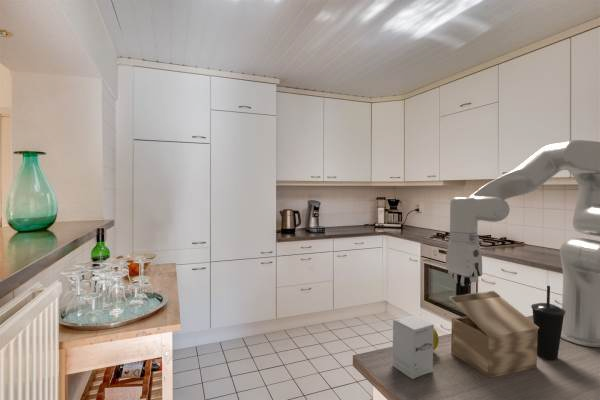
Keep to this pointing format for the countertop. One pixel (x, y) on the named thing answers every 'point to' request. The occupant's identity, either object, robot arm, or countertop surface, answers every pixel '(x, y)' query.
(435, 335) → the lemon
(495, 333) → the lid flap
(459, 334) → the light brown boxy piece
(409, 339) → the supplement box
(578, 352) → the countertop surface
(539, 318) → the drinking cup
